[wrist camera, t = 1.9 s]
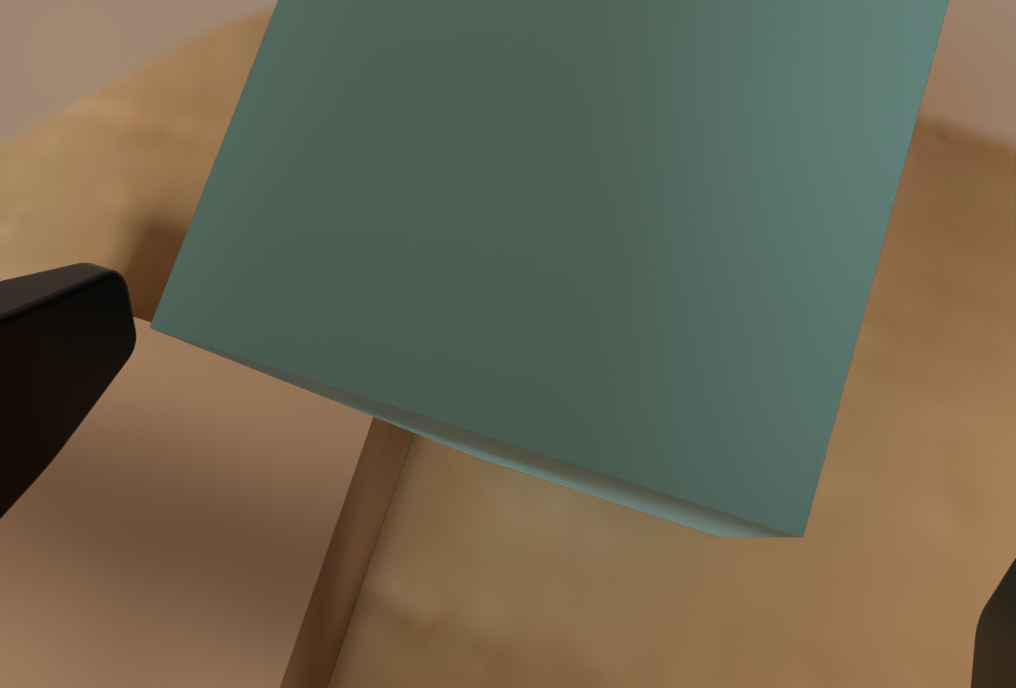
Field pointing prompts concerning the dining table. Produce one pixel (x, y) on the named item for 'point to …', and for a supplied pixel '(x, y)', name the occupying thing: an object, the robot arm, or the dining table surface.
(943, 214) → the dining table surface
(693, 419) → the teal brick
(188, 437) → the walnut base brick
